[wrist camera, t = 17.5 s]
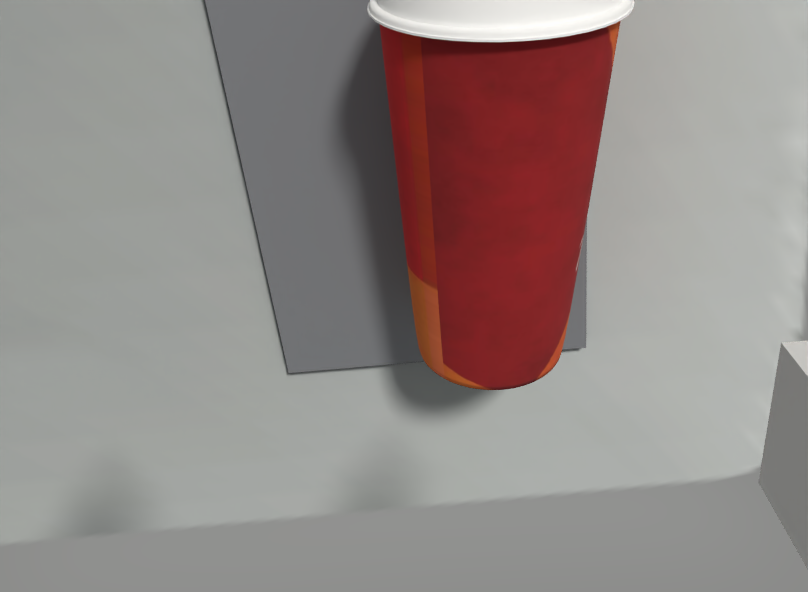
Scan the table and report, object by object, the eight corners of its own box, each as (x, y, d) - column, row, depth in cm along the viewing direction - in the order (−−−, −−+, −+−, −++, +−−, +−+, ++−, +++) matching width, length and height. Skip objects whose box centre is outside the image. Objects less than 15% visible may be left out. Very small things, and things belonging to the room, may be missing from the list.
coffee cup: (628, 332, 32) (688, -58, 23) (515, 444, 27) (540, 1, 18) (468, 266, 37) (470, -79, 28) (347, 351, 32) (304, -36, 23)
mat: (290, 366, 37) (288, 373, 36) (172, -164, 26) (168, -164, 26) (584, 341, 36) (586, 347, 35) (585, -219, 25) (588, -221, 25)
